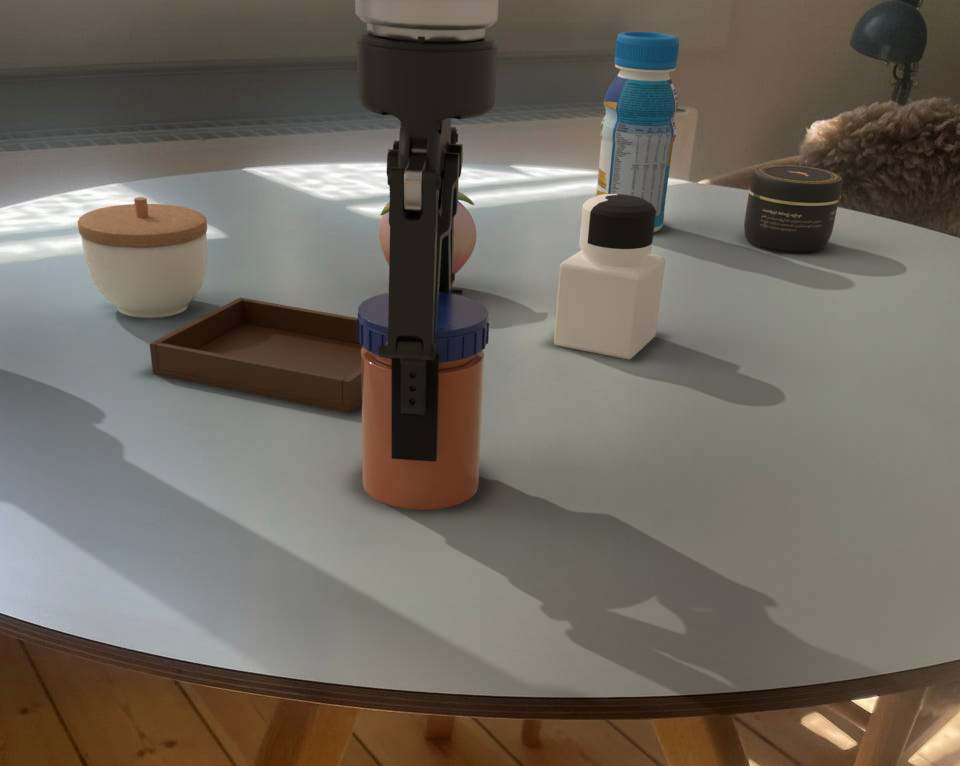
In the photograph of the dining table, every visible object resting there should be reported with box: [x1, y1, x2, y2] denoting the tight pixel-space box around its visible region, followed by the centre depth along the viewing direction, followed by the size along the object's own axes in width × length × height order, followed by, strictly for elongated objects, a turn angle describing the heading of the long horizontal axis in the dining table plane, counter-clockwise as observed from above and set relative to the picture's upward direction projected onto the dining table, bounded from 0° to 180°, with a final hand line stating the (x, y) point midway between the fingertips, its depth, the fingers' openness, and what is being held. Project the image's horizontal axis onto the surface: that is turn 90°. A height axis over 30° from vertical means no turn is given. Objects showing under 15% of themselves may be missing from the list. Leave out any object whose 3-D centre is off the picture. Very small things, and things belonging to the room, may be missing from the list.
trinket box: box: [77, 196, 208, 319], centre depth 101 cm, size 11×11×9 cm
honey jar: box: [361, 347, 485, 511], centre depth 73 cm, size 8×8×11 cm
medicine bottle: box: [553, 194, 666, 360], centre depth 98 cm, size 7×7×12 cm
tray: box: [149, 297, 362, 414], centre depth 92 cm, size 17×13×2 cm
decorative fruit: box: [378, 191, 478, 275], centre depth 109 cm, size 9×8×10 cm
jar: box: [743, 164, 843, 255], centre depth 129 cm, size 10×10×8 cm
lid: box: [357, 292, 490, 363], centre depth 70 cm, size 8×8×2 cm
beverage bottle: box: [595, 31, 680, 233], centre depth 130 cm, size 8×8×20 cm
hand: (421, 429), depth 74 cm, fingers closed on lid, 8 cm apart
